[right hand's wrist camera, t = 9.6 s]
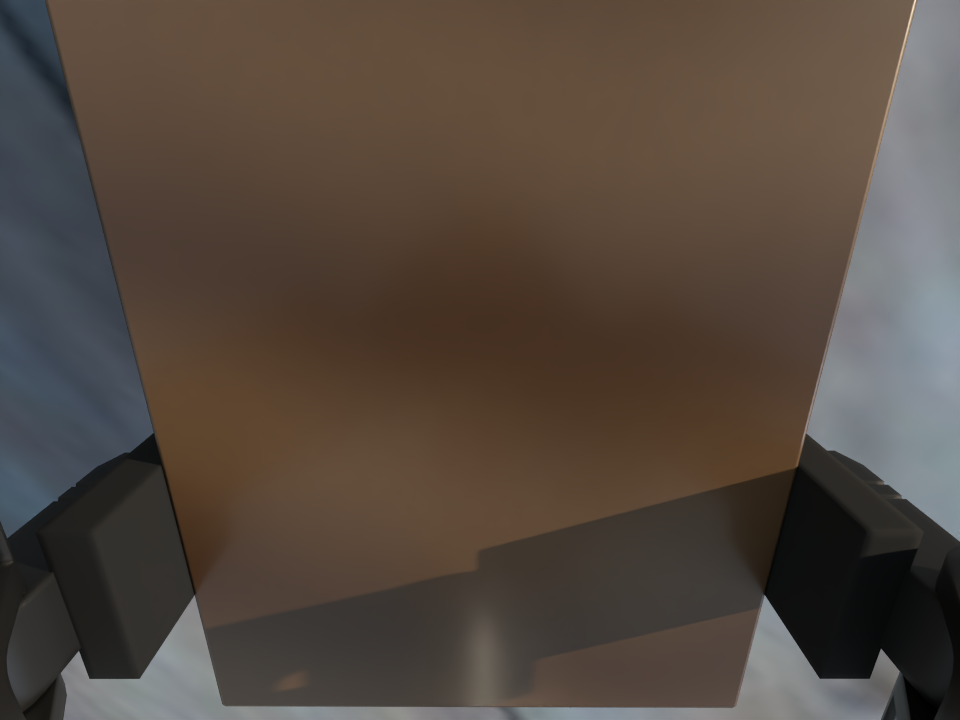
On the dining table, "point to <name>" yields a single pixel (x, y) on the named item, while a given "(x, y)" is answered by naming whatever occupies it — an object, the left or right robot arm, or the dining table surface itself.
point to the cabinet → (480, 322)
